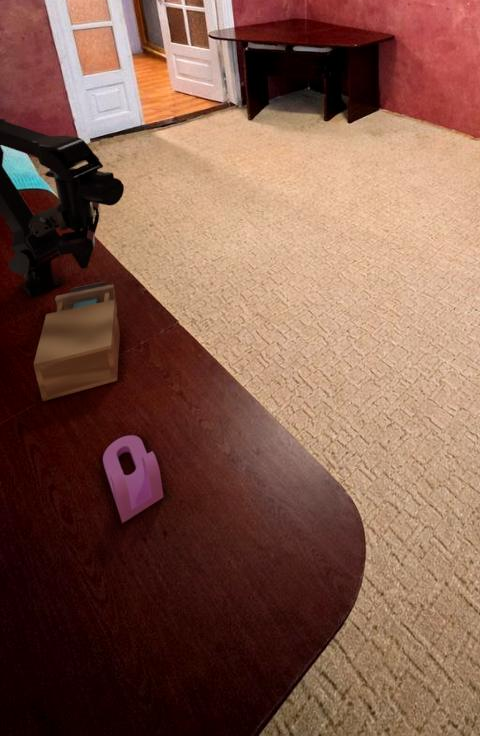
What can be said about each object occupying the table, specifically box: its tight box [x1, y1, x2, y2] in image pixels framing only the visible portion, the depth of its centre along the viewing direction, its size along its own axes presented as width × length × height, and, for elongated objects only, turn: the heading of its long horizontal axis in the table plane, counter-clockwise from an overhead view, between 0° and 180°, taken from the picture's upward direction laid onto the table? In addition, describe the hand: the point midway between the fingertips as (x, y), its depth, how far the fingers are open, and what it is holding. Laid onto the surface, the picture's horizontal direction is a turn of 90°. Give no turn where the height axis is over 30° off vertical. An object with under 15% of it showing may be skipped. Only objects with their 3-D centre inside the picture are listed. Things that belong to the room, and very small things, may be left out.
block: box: [73, 298, 98, 308], centre depth 101 cm, size 4×4×4 cm
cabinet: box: [33, 300, 121, 402], centre depth 93 cm, size 14×12×9 cm
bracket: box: [102, 434, 164, 524], centre depth 74 cm, size 13×6×7 cm, turn 42°
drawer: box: [54, 281, 118, 313], centre depth 101 cm, size 17×10×7 cm, turn 27°
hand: (86, 258), depth 108 cm, fingers open, 7 cm apart
